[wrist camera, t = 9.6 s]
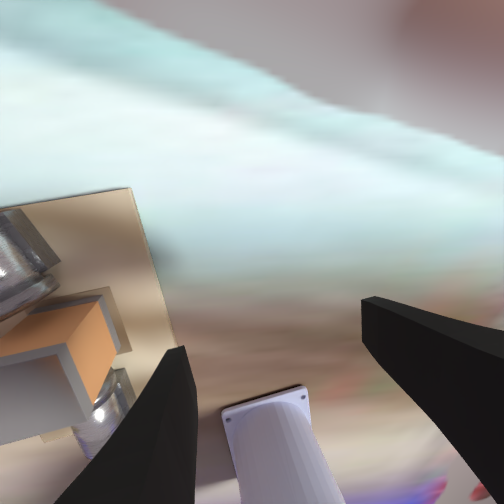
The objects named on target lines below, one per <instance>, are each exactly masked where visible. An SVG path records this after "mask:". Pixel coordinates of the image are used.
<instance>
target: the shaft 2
mask: <svg viewBox="0 0 504 504" xmlns="http://www.w3.org/2000/svg"><path fill="white" fill-rule="evenodd" d="M136 400H137V398H136V395H135V392H134V390H133V387H132V385H131V382H130V379H129V377H128V374H127V371H126V369H125V368H121V369H117V370H113V368H112V367H110V369H109V371H108V374H107V376H106V378H105V380H104V383H103V385H102V387H101V389H100V392H99V394H98V396H97V398H96V401H95V403H94V405H93V407H94V409H93V411H92V413H91V416H90V418H89V420H88V422H84V423H81V424H77V425H73V426H70V428H71V430H72V432H73V434H74V436H75V438H76V440H77V442H78V444H79V446H80V448H81V449H82V451H83V453H84V455H85V457H87V458H89V459H93V458H94V457H95V456H96V454H97V453H98V452H99V451H100V449H101V448H102V447H103V446H104V445H105V443H106V442H107V441H108V439H109V438H110V437H111V435H112V434H113V433H114V431H115V430H116V429H117V427H118V426H119V425H120V423H121V422H122V420H123V419H124V417H125V416H126V414H127V413H128V412H129V410H130V409H131V407H132V406H133V404H134V403H135V401H136Z"/></svg>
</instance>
